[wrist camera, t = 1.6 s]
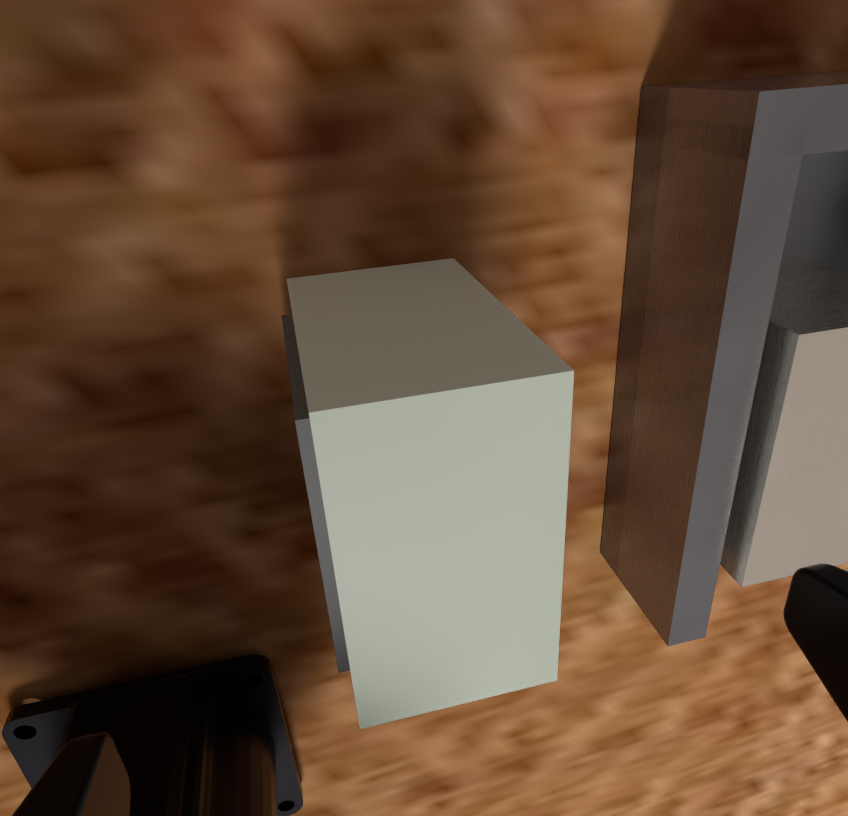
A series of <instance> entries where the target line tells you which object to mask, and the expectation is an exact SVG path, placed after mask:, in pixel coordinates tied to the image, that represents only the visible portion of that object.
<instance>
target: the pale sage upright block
mask: <svg viewBox="0 0 848 816" xmlns="http://www.w3.org/2000/svg"><path fill="white" fill-rule="evenodd" d="M287 285H288V292H289V298H290V304H291V310H292V314H291V315H283V316H282V321H283V329H284V337H285V345H286V353H287V361H288V369H289V377H290V386H291V394H292V402H293V410H294V418H295V425H296V430H297V436H298V442H299V447H300V453H301V459H302V465H303V470H304V476H305V482H306V488H307V493H308V499H309V505H310V511H311V516H312V522H313V528H314V534H315V539H316V545H317V551H318V557H319V562H320V568H321V574H322V579H323V585H324V591H325V597H326V602H327V608H328V614H329V620H330V625H331V631H332V637H333V643H334V648H335V654H336V660H337V666H338V671H339V673H340V672H344V671H349V670H350V672H351V678H352V684H353V690H354V696H355V702H356V708H357V715H358V721H359V727H360V729H363V728H367V727H371V726H375V725H379V724H383V723H387V722H391V721H395V720H399V719H403V718H407V717H411V716H415V715H419V714H423V713H427V712H431V711H436V710H440V709H444V708H448V707H452V706H456V705H460V704H464V703H468V702H472V701H476V700H480V699H484V698H488V697H492V696H496V695H500V694H504V693H508V692H512V691H516V690H521V689H525V688H529V687H533V686H537V685H541V684H545V683H549V682H553V681H557V672H558V654H559V636H560V617H561V599H562V581H563V563H564V545H565V527H566V509H567V490H568V472H569V454H570V436H571V418H572V400H573V381H574V370H573V369H572V368H571V367H570V366H569V365H568V364H567V363H565V362H564V361H563V360H562V359H561V358H560V357H559V356H558V355H557V354H556V353H555V352H554V351H553V350H552V349H550V348H549V347H548V346H547V345H546V344H545V343H544V342H543V341H542V340H541V339H540V338H539V337H538V336H536V335H535V334H534V333H533V332H532V331H531V330H530V329H529V328H528V327H527V326H526V325H525V324H524V323H523V322H521V321H520V320H519V319H518V318H517V317H516V316H515V315H514V314H513V313H512V312H511V311H510V310H509V309H508V308H506V307H505V306H504V305H503V304H502V303H501V302H500V301H499V300H498V299H497V298H496V297H495V296H494V295H492V294H491V293H490V292H489V291H488V290H487V289H486V288H485V287H484V286H483V285H482V284H481V283H480V282H479V281H477V280H476V279H475V278H474V277H473V276H472V275H471V274H470V273H469V272H468V271H467V270H466V269H465V268H464V267H462V266H461V265H460V264H459V263H458V262H457V261H456V260H455V259H454V258H451V259H443V260H435V261H426V262H418V263H410V264H402V265H394V266H386V267H377V268H369V269H361V270H353V271H345V272H337V273H329V274H320V275H312V276H304V277H296V278H288V279H287Z"/></svg>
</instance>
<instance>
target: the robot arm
mask: <svg viewBox="0 0 848 816" xmlns="http://www.w3.org/2000/svg"><path fill="white" fill-rule="evenodd" d="M784 620H785V623H786V626H787V628H788V630H789V632H790V633H791V635H792V636H793V638H794V639H795V641H796V643H797V644H798V646H799V647H800V649H801V650H802V652H803V653H804V655H805V657H806V658H807V660H808V661H809V663H810V664H811V666H812V667H813V669H814V671H815V672H816V674H817V675H818V677H819V678H820V680H821V681H822V683H823V685H824V686H825V688H826V689H827V691H828V692H829V694H830V695H831V697H832V699H833V700H834V702H835V703H836V705H837V706H838V708H839V709H840V711H841V712H842V714H843V716H844V717H845V718H846V720H847V721H848V572H847V571H845V570H843V569H840V568H838V567H835V566H833V565H830V564H823V563H822V564H816V565H812V566H807V567H803V568H800V569H798V570H797V571H796V572H795V573H794V575H793V577H792V581H791V585H790V589H789V592H788V596H787V600H786V604H785V607H784ZM249 674H256V675H249ZM27 725H28V726H27ZM2 735H3V738H4V740H5V742H6V744H7V745H8V747H9V749H10V751H11V753H12V754H13V756H14V758H15V760H16V761H17V763H18V765H19V767H20V769H21V770H22V772H23V774H24V776H25V777H26V779H27V781H28V783H29V784H30V786H31V788H32V789H31V791H30V792H29V793H28V795H27V796H26V797H25V799H24V800H23V801H22V803H21V804H20V806H19V807H18V808H17V810H16V811H15V812H14V814H13V815H12V816H289V815H292V814H294V813H296V812H297V811H299V810H300V809H301V807H302V806H303V795H302V787H301V782H300V778H299V774H298V770H297V766H296V762H295V758H294V753H293V749H292V745H291V741H290V737H289V733H288V729H287V725H286V720H285V716H284V712H283V708H282V704H281V700H280V696H279V691H278V687H277V683H276V679H275V675H274V671H273V667H272V663H271V662H270V660H269V659H268V658H266V657H265V656H261V655H248V656H244V657H239V658H234V659H230V660H225V661H221V662H216V663H212V664H207V665H203V666H198V667H194V668H189V669H185V670H180V671H176V672H171V673H166V674H162V675H157V676H153V677H148V678H144V679H139V680H135V681H130V682H126V683H121V684H117V685H112V686H107V687H103V688H98V689H94V690H89V691H85V692H80V693H76V694H71V695H67V696H62V697H58V698H53V699H49V700H44V701H39V702H35V703H30V704H26V705H22V706H19V707H16V708H14V709H13V710H12V711H11V712H10V713H9V715H8V717H7V720H6V722H5V725H4V728H3V730H2Z"/></svg>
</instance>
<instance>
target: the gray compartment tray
mask: <svg viewBox="0 0 848 816" xmlns="http://www.w3.org/2000/svg"><path fill="white" fill-rule="evenodd" d="M600 553H601V554H602V556H603V557H604V559H605V560H606V561H607V563H608V564H609V565H610V567H611V568H612V570H613V571H614V572H615V574H616V575H617V577H618V578H619V579H620V581H621V582H622V583H623V585H624V586H625V588H626V589H627V590H628V592H629V593H630V595H631V596H632V597H633V599H634V600H635V601H636V603H637V604H638V606H639V607H640V608H641V610H642V611H643V612H644V614H645V615H646V617H647V618H648V619H649V621H650V622H651V624H652V625H653V626H654V628H655V629H656V630H657V632H658V633H659V635H660V636H661V637H662V639H663V640H664V641H665V643H666V644H667V646H671V645H675V644H679V643H683V642H687V641H691V640H695V639H699V638H703V637H705V636H706V631H707V626H708V621H709V616H710V611H711V606H712V601H713V596H714V591H715V586H716V581H717V576H718V571H719V566H720V565H721V566H722V567H723V568H724V569H725V570H726V571H727V572H728V573H729V574H730V575H731V576H732V577H733V578H734V579H735V580H736V581H737V582H738V583H739V585H740V586H741V587H744V586H749V585H753V584H757V583H761V582H766V581H770V580H774V579H779V578H783V577H787V576H791V575H794V573H795V572H796V571H797V570H798V569H800V568H803V567H807V566H812V565H816V564H822V563H823V564H830V565H833V566H834V565H839V564H843V563H847V562H848V70H847V71H834V72H821V73H809V74H796V75H783V76H771V77H758V78H745V79H733V80H720V81H707V82H694V83H682V84H669V85H656V86H644V87H642V88H641V99H640V111H639V122H638V133H637V145H636V156H635V167H634V179H633V190H632V201H631V212H630V224H629V235H628V246H627V258H626V269H625V280H624V292H623V303H622V314H621V326H620V337H619V348H618V360H617V371H616V382H615V394H614V405H613V416H612V427H611V439H610V450H609V461H608V473H607V484H606V495H605V507H604V518H603V529H602V541H601V552H600Z"/></svg>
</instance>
